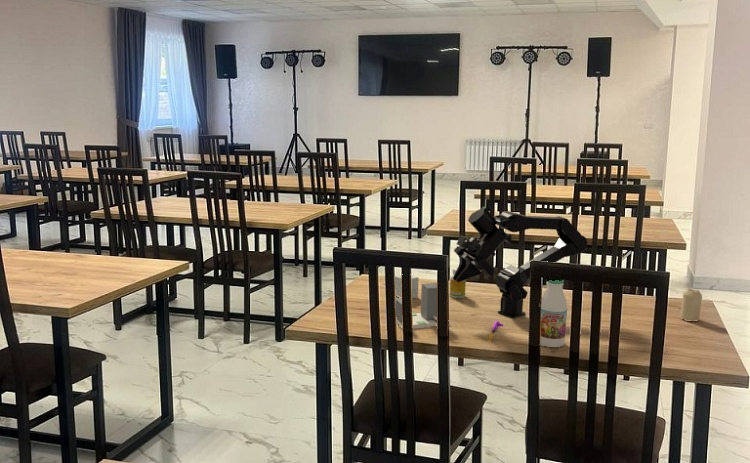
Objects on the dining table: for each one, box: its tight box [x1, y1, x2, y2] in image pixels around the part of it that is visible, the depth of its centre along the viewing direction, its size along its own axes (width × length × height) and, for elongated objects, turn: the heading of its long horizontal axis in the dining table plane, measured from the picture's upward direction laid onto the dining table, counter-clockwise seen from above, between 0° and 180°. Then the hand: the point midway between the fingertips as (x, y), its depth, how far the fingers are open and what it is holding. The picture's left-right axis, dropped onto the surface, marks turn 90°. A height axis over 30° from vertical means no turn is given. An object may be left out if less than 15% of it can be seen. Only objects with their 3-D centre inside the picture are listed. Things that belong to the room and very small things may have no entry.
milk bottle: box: [540, 279, 568, 348], centre depth 198 cm, size 8×8×20 cm
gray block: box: [420, 282, 438, 320], centre depth 216 cm, size 5×9×10 cm, turn 18°
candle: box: [679, 288, 703, 321], centre depth 223 cm, size 6×6×10 cm
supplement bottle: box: [449, 267, 467, 299], centre depth 243 cm, size 5×5×10 cm
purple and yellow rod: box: [488, 320, 504, 342], centre depth 209 cm, size 3×1×16 cm
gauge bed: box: [394, 297, 450, 330], centre depth 215 cm, size 15×10×7 cm, turn 108°
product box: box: [394, 274, 419, 300], centre depth 241 cm, size 6×6×7 cm
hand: (455, 280), depth 217 cm, fingers closed
